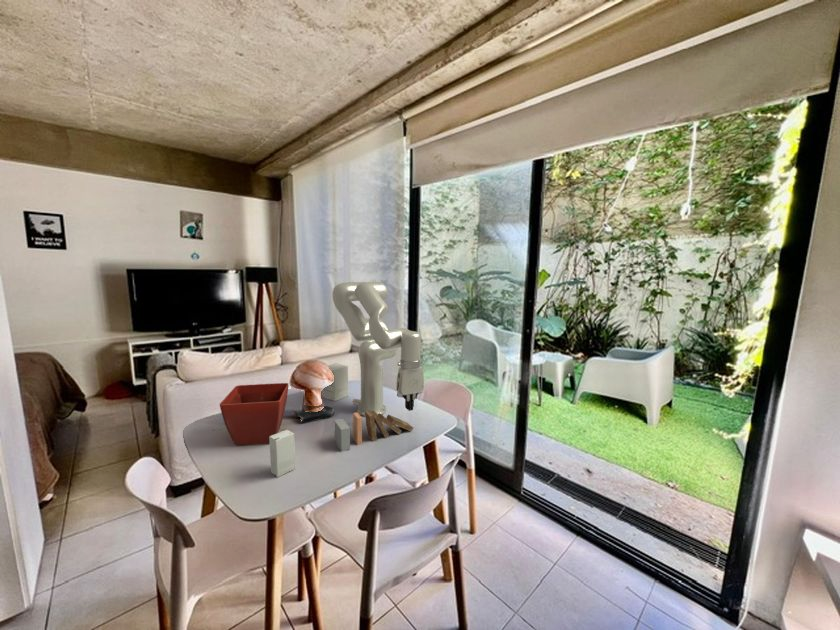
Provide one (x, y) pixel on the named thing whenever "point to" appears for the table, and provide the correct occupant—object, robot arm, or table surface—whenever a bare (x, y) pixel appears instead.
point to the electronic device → (315, 414)
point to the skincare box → (282, 452)
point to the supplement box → (337, 383)
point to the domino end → (357, 428)
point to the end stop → (342, 434)
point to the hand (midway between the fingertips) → (409, 409)
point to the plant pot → (254, 412)
